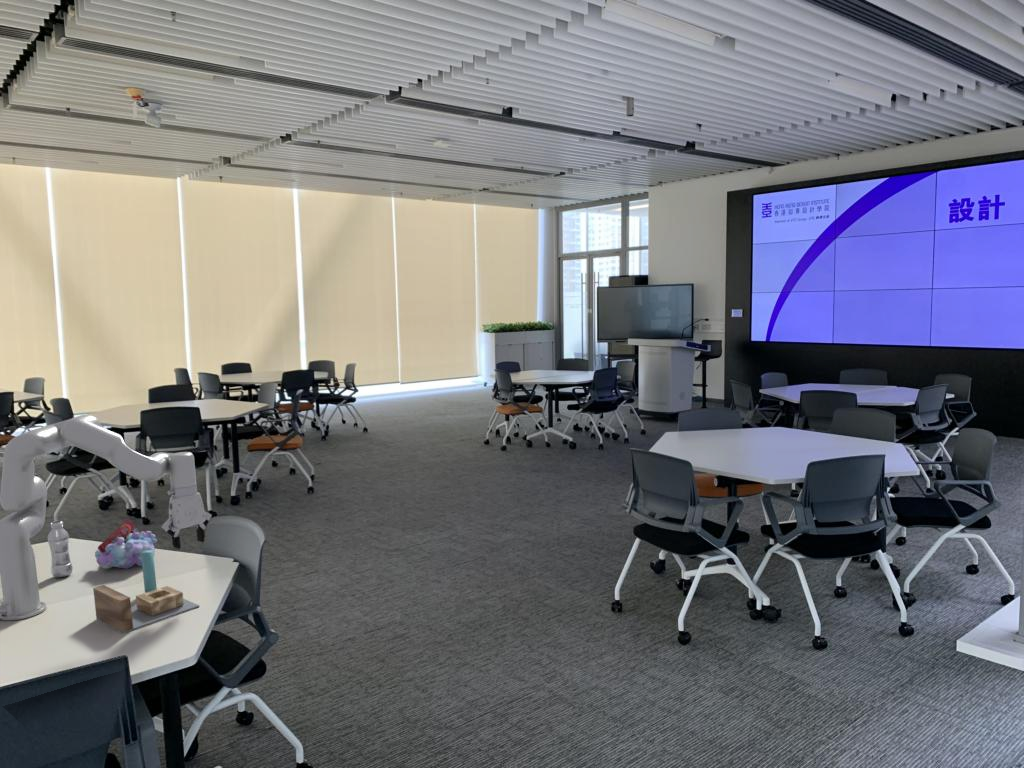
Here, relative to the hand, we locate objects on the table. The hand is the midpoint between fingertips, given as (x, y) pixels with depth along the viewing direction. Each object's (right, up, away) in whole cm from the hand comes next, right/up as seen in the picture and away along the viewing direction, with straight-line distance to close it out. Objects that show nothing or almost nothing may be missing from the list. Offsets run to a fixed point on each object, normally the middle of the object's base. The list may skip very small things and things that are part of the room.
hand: (189, 544), depth 246 cm
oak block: (-6, -19, -7) cm, 21 cm away
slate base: (-9, -19, -9) cm, 23 cm away
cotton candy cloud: (-39, -16, +37) cm, 56 cm away
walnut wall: (-15, -21, -17) cm, 31 cm away
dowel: (-16, -18, +8) cm, 25 cm away
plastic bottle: (-57, -18, +28) cm, 66 cm away
